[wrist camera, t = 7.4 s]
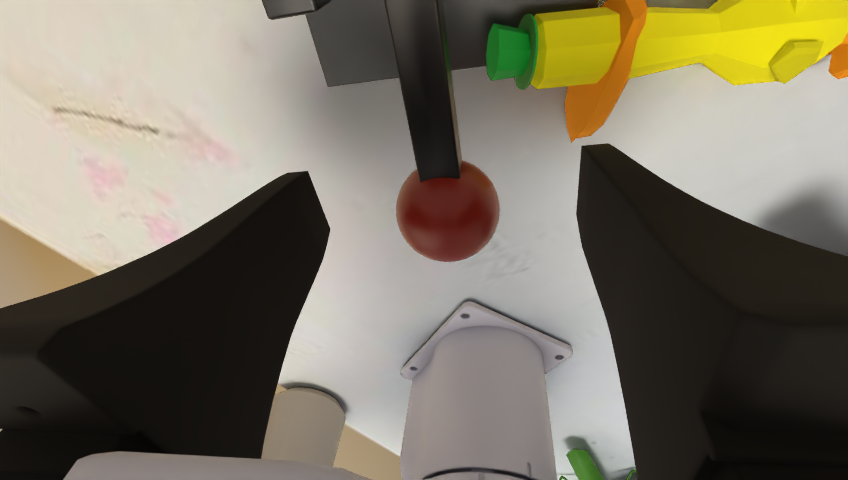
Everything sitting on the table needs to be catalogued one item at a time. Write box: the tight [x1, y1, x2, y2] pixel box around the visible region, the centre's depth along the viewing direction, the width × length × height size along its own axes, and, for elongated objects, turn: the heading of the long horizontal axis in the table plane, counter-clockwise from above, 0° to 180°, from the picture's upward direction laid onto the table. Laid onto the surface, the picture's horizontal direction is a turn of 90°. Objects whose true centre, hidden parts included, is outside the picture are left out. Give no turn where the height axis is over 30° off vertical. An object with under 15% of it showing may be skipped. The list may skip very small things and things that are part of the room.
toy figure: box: [486, 0, 848, 143], centre depth 14 cm, size 7×4×12 cm
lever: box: [384, 0, 500, 262], centre depth 10 cm, size 11×3×3 cm, turn 10°
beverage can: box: [261, 387, 345, 467], centre depth 31 cm, size 6×6×12 cm
